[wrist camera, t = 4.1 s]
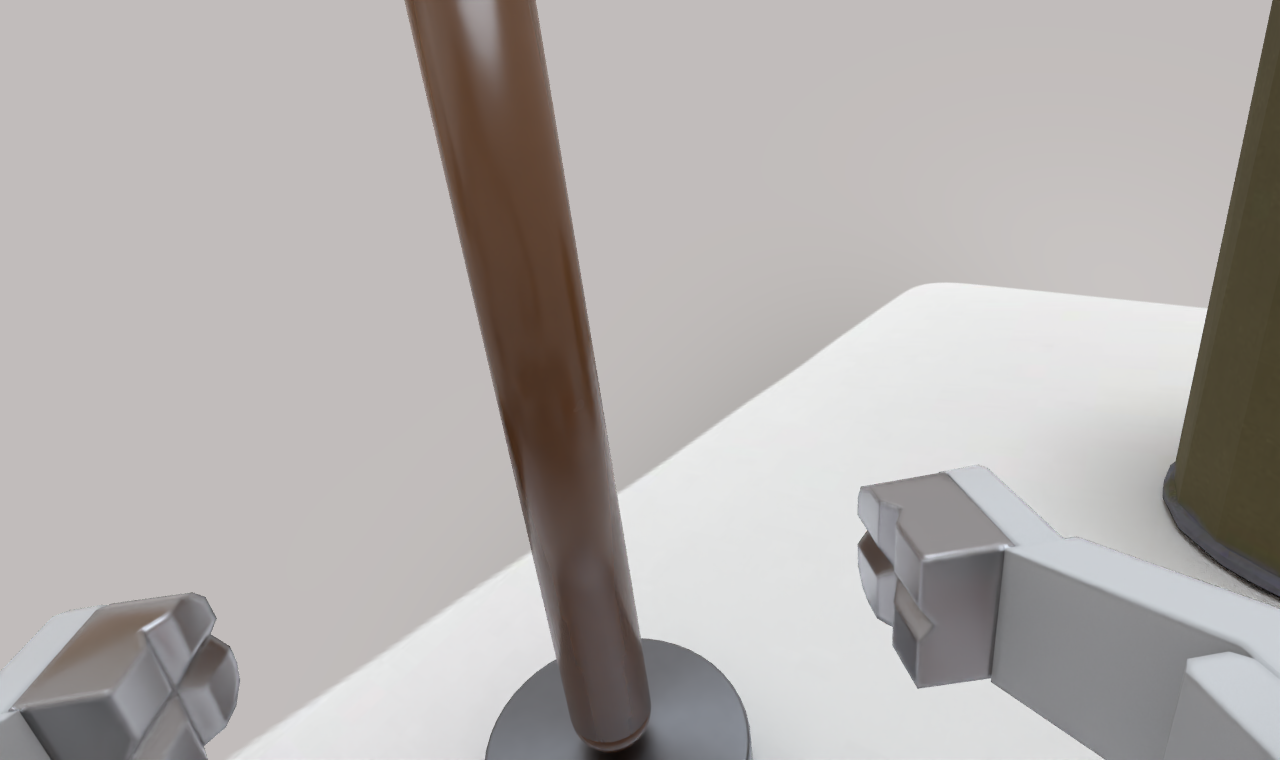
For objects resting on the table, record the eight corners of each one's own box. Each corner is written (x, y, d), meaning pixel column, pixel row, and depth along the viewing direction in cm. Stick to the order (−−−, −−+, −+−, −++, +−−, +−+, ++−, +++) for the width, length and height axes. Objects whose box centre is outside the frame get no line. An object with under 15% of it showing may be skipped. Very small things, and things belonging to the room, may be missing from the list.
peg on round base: (566, 1009, 13) (165, -314, 6) (467, 769, 18) (181, -110, 10) (811, 824, 16) (766, -262, 8) (666, 658, 21) (553, -116, 13)
